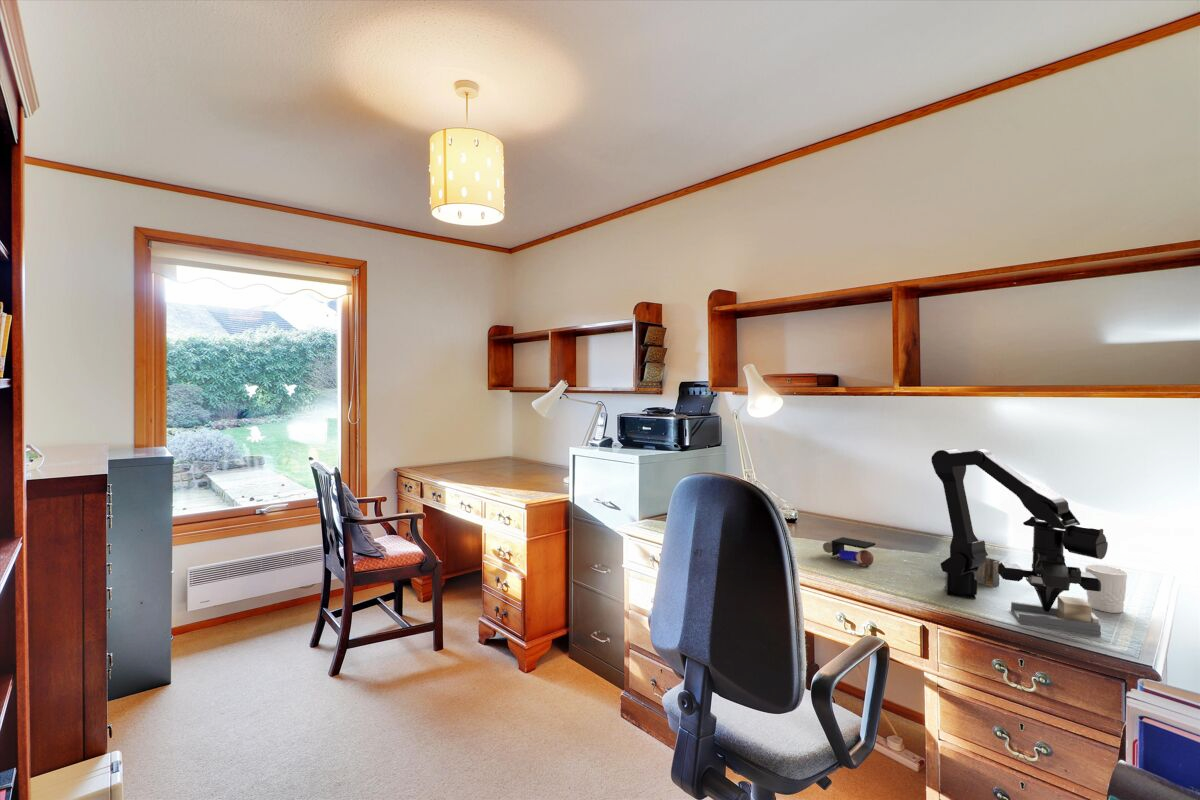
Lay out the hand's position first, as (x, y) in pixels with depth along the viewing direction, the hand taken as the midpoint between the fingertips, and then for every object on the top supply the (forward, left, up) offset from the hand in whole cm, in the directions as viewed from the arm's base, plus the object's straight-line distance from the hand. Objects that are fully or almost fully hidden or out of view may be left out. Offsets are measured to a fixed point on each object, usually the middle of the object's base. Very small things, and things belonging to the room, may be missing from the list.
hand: (1046, 611), depth 134 cm
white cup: (+16, +16, -3) cm, 23 cm away
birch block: (+5, 0, -2) cm, 6 cm away
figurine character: (-44, +30, -3) cm, 53 cm away
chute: (+1, 0, -2) cm, 3 cm away
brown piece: (-10, +26, -3) cm, 28 cm away
